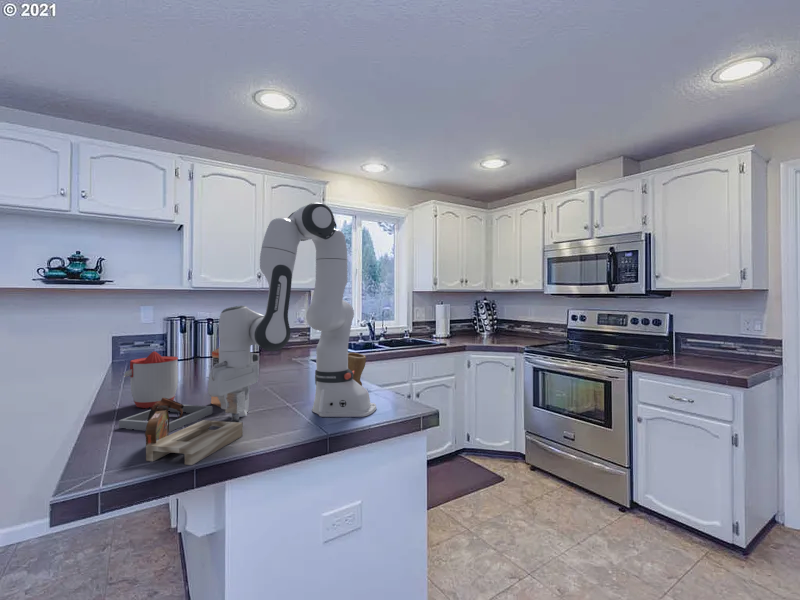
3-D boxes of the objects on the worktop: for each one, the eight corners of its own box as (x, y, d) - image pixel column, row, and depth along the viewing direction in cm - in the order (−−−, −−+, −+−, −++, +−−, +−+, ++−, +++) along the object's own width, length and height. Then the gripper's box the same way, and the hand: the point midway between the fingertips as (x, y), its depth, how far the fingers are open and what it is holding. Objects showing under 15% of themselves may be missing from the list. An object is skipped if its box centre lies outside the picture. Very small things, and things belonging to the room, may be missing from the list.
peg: (246, 425, 122) (245, 390, 122) (237, 430, 118) (237, 393, 118) (233, 424, 123) (233, 389, 123) (224, 429, 119) (224, 393, 118)
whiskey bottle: (236, 397, 156) (235, 317, 156) (249, 402, 150) (248, 318, 149) (210, 403, 148) (209, 318, 148) (222, 408, 142) (220, 319, 142)
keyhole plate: (242, 435, 113) (242, 422, 113) (191, 465, 94) (191, 449, 93) (203, 432, 116) (203, 420, 116) (146, 460, 96) (145, 445, 96)
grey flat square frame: (212, 413, 135) (212, 406, 135) (169, 432, 117) (168, 423, 117) (167, 410, 139) (167, 403, 139) (119, 428, 120) (118, 420, 120)
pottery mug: (148, 419, 131) (162, 396, 134) (176, 430, 133) (189, 406, 136) (138, 420, 120) (153, 395, 123) (169, 432, 122) (183, 406, 125)
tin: (156, 457, 98) (158, 423, 98) (142, 458, 97) (143, 424, 96) (169, 435, 112) (171, 406, 112) (157, 436, 111) (158, 406, 111)
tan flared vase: (368, 389, 169) (368, 354, 168) (340, 391, 165) (340, 355, 165) (362, 382, 183) (362, 350, 183) (336, 383, 180) (336, 351, 180)
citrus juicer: (121, 404, 147) (120, 351, 147) (174, 396, 158) (173, 347, 158) (126, 414, 135) (125, 356, 135) (183, 404, 147) (182, 351, 146)
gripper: (221, 365, 109) (222, 414, 109) (262, 354, 129) (262, 396, 129) (201, 364, 110) (202, 413, 111) (244, 353, 130) (245, 395, 131)
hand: (235, 404), depth 120 cm, fingers open, 8 cm apart
